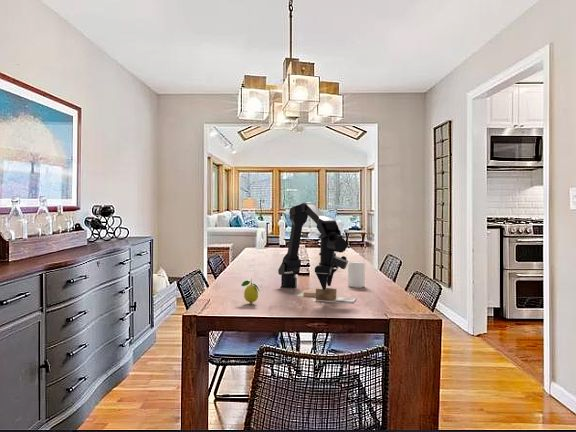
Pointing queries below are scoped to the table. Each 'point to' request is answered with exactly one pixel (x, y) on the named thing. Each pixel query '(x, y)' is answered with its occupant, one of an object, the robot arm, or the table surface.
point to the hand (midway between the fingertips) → (326, 287)
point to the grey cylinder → (356, 274)
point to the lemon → (250, 292)
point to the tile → (310, 293)
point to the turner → (331, 296)
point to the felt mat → (302, 294)
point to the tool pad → (325, 300)
